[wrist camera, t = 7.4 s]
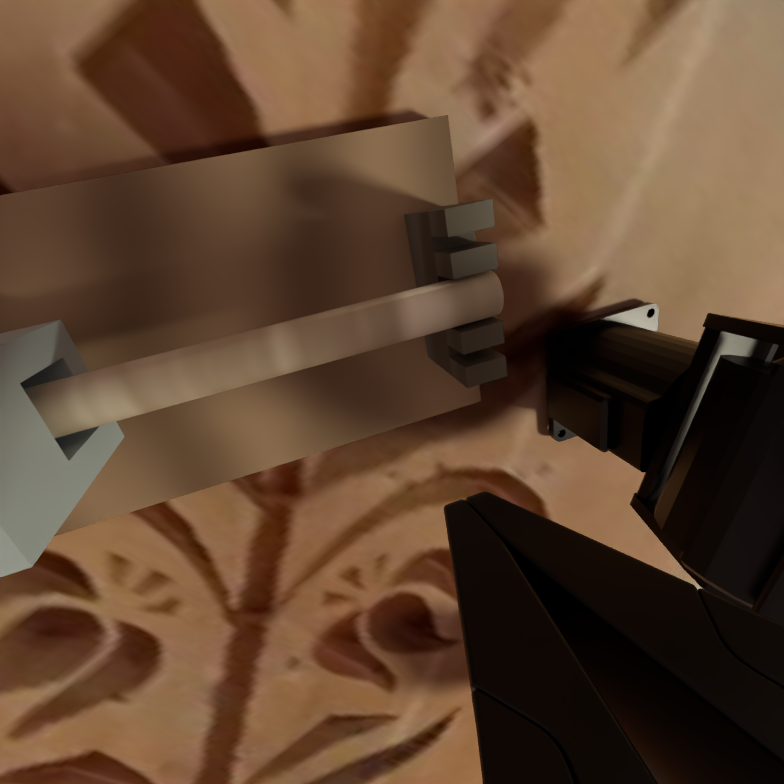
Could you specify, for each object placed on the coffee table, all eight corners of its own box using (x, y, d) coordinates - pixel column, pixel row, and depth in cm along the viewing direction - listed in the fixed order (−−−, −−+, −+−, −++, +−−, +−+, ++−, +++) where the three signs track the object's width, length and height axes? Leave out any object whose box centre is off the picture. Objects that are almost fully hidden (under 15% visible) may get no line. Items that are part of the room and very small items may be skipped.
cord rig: (437, 121, 16) (532, 59, 10) (471, 393, 21) (548, 455, 15) (-370, 268, 12) (-994, 302, 6) (-88, 568, 17) (-277, 746, 11)
